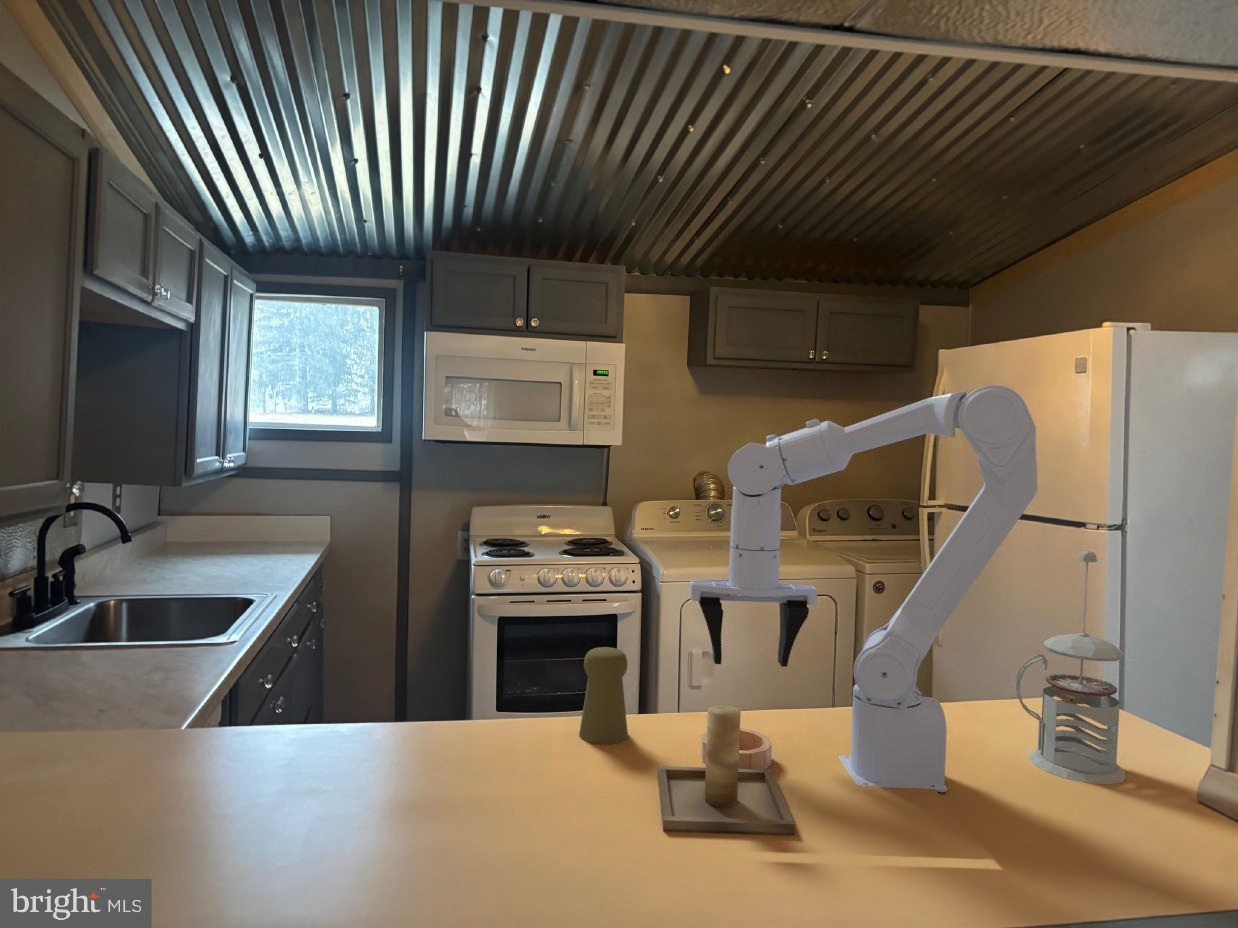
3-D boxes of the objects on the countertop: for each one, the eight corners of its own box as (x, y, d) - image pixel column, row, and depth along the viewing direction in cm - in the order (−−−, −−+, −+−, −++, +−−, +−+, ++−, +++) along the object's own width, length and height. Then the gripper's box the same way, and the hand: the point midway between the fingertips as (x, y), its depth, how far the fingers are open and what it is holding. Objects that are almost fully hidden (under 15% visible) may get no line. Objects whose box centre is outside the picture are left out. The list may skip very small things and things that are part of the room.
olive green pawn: (630, 732, 99) (633, 644, 99) (626, 751, 93) (629, 657, 93) (582, 729, 100) (584, 641, 100) (574, 747, 94) (577, 654, 94)
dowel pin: (735, 793, 81) (738, 705, 81) (738, 808, 78) (742, 716, 78) (703, 792, 81) (706, 704, 81) (705, 807, 78) (709, 715, 78)
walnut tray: (770, 784, 86) (770, 769, 86) (794, 841, 74) (794, 824, 74) (657, 780, 86) (657, 765, 86) (662, 837, 74) (663, 819, 74)
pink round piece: (763, 751, 94) (764, 728, 94) (775, 779, 87) (776, 754, 87) (698, 749, 94) (699, 726, 94) (705, 777, 87) (706, 751, 87)
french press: (1137, 790, 87) (1150, 560, 86) (1018, 772, 91) (1029, 551, 90) (1114, 756, 96) (1125, 548, 95) (1007, 741, 100) (1017, 541, 99)
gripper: (809, 544, 98) (804, 655, 98) (689, 540, 98) (685, 651, 98) (823, 553, 91) (818, 672, 91) (694, 549, 91) (690, 668, 91)
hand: (749, 662), depth 94 cm, fingers open, 7 cm apart
